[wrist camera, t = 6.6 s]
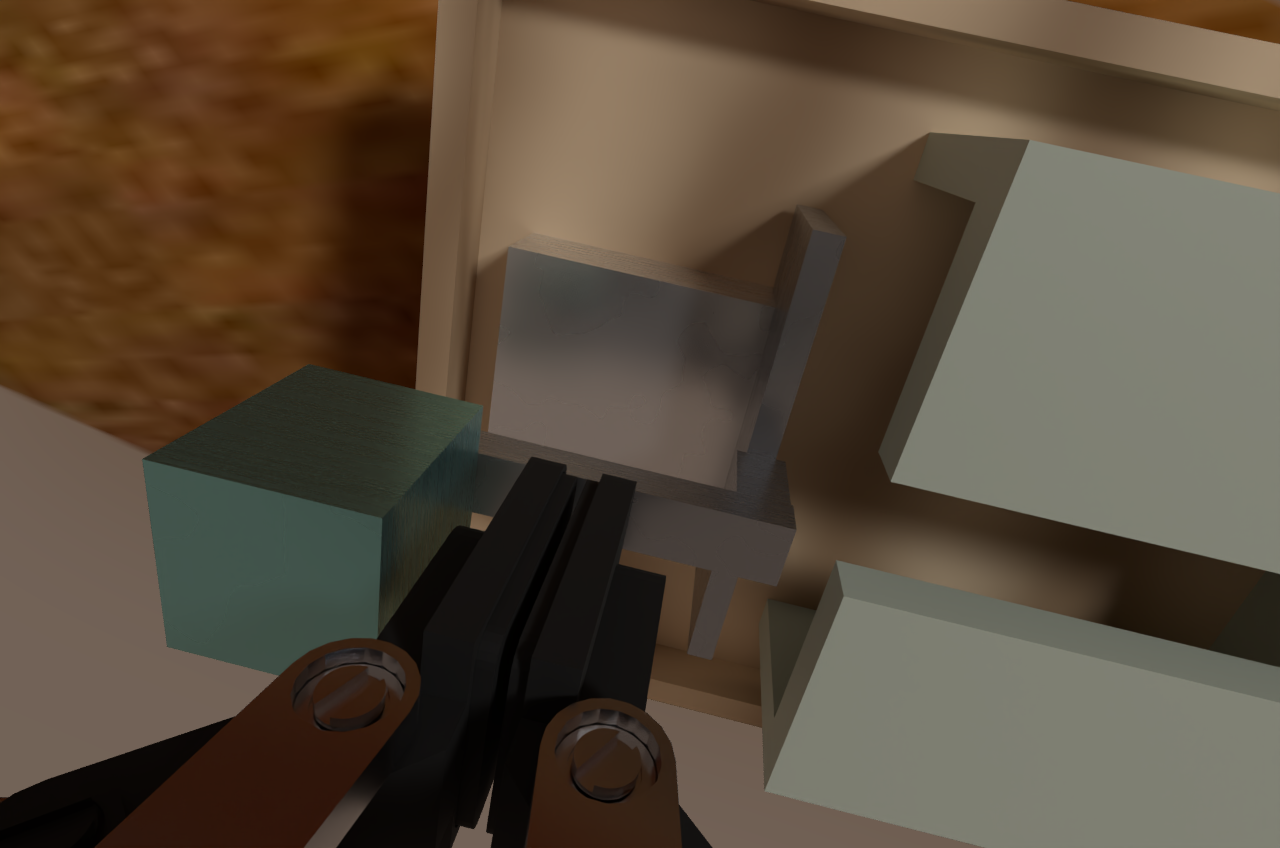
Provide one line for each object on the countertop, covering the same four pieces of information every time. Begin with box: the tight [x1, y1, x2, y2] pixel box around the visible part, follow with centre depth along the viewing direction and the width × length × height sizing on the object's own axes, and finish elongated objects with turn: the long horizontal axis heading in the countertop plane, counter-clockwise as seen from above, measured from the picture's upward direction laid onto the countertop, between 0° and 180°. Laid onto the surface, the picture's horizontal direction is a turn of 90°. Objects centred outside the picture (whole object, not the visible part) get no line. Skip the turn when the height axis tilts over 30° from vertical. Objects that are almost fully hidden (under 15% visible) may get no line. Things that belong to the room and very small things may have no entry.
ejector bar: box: [142, 204, 847, 675], centre depth 13 cm, size 8×10×10 cm
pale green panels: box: [759, 132, 1280, 848], centre depth 15 cm, size 13×14×6 cm
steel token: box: [488, 233, 776, 489], centre depth 17 cm, size 6×6×2 cm
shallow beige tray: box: [416, 0, 1280, 728], centre depth 20 cm, size 27×19×8 cm
